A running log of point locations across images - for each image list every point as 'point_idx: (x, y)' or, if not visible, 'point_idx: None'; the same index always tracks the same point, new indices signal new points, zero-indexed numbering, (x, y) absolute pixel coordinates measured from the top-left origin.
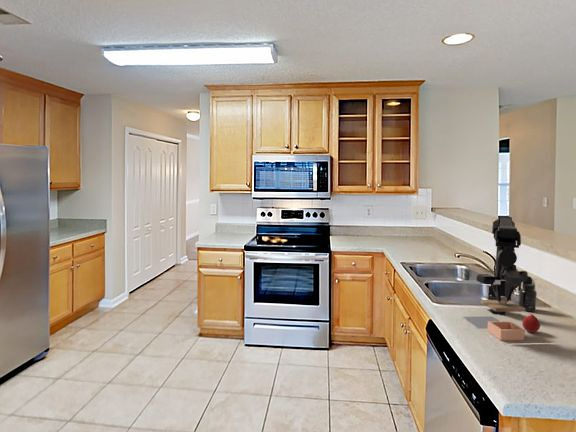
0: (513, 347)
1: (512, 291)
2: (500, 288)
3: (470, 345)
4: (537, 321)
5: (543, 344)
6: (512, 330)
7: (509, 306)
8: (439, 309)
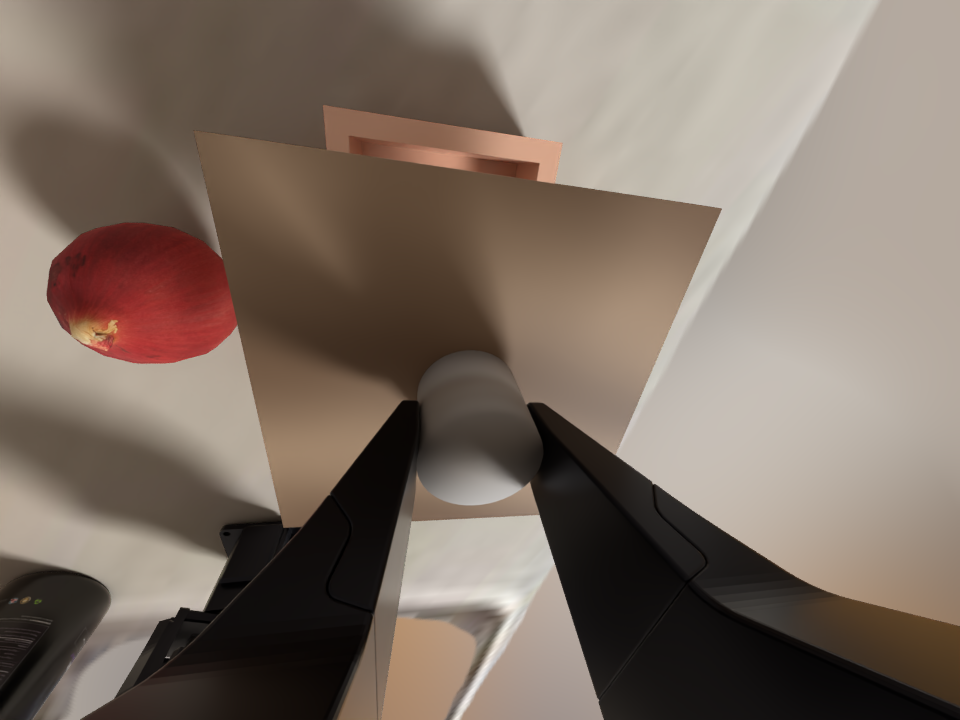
0: (501, 22)
1: (308, 548)
2: (749, 606)
3: (748, 134)
4: (73, 250)
5: (189, 22)
6: (456, 126)
7: (445, 285)
8: (531, 562)
